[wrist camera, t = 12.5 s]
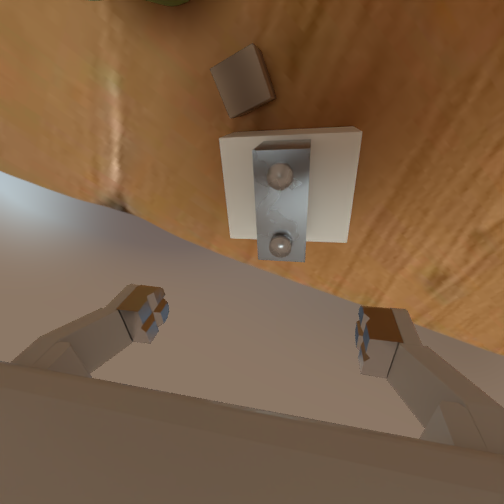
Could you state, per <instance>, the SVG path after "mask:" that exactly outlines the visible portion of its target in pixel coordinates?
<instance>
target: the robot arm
mask: <svg viewBox="0 0 504 504" xmlns="http://www.w3.org/2000/svg"><path fill="white" fill-rule="evenodd" d="M164 296H165V293H164V290H163V288H160V287H153V286H145V285H133V284H130V285H127V286H126V287H125V288H124V289H123V290H122V291H121V292H120V293H119V294H118V295H117V296H116V297H115V298H114V299H113V300H112V301H111V302H110V303H109V304H108V305H107V306H106V307H105V308H100V309H98V310H96V311H94V312H92V313H90V314H87V315H85V316H83V317H81V318H79V319H77V320H75V321H72V322H70V323H68V324H66V325H64V326H62V327H60V328H58V329H55V330H53V331H51V332H49V333H47V334H45V335H43V336H40V337H39V338H38V339H37V340H36V341H34V342H33V343H32V344H31V345H30V346H29V347H27V348H26V349H25V350H24V351H23V352H22V353H21V354H20V355H19V356H17V357H16V358H15V359H14V360H13V361H11V363H9V362H3V361H0V504H504V408H503V407H502V406H500V405H499V404H498V403H497V402H496V401H494V400H493V399H492V398H491V397H490V396H488V395H487V394H486V393H485V392H483V391H482V390H481V389H480V388H478V387H477V386H476V385H475V384H473V383H472V382H471V381H470V380H469V379H467V378H466V377H465V376H463V375H462V374H461V373H460V372H459V371H457V370H456V369H455V368H454V367H452V366H451V365H450V364H448V363H447V362H446V361H445V360H444V359H442V358H441V357H440V356H439V355H438V354H436V353H435V352H434V351H433V350H431V349H430V348H429V347H428V346H423V345H422V343H421V341H420V338H419V336H418V334H417V332H416V329H415V327H414V324H413V322H412V320H411V318H410V315H409V313H408V311H407V310H406V309H397V308H382V307H370V306H360V308H359V313H358V314H359V321H357V323H356V329H355V341H356V347H357V349H358V350H359V356H358V361H359V366H360V372H361V374H363V375H369V376H375V377H381V378H387V381H388V382H389V383H390V385H391V386H392V387H393V388H394V390H395V391H396V392H397V394H398V395H399V396H400V397H401V399H402V400H403V401H404V402H405V404H406V405H407V406H408V408H409V409H410V410H411V411H412V413H413V414H414V415H415V416H416V418H417V419H418V420H419V422H420V423H421V424H422V425H423V427H424V428H425V430H424V431H423V433H422V435H421V437H420V438H419V439H416V438H411V437H405V436H400V435H394V434H389V433H384V432H378V431H373V430H368V429H362V428H357V427H352V426H347V425H341V424H336V423H330V422H325V421H320V420H314V419H309V418H304V417H298V416H293V415H288V414H282V413H276V412H271V411H266V410H260V409H255V408H250V407H244V406H239V405H234V404H228V403H223V402H218V401H212V400H207V399H202V398H196V397H191V396H185V395H179V394H175V393H169V392H164V391H159V390H153V389H148V388H142V387H137V386H132V385H127V384H121V383H116V382H111V381H105V380H100V379H94V378H92V376H91V375H90V373H91V372H93V371H94V370H96V369H97V368H98V367H100V366H101V365H103V364H104V363H105V362H106V361H108V360H109V359H111V358H112V357H113V356H115V355H116V354H118V353H119V352H120V351H122V350H123V349H125V348H126V347H127V346H129V345H130V344H131V343H132V342H141V343H149V344H150V343H151V342H152V341H153V339H154V338H155V336H156V335H157V333H158V331H159V330H158V327H159V326H160V325H162V324H164V323H165V321H166V319H167V317H168V313H169V305H168V302H167V301H165V299H164Z"/></svg>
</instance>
